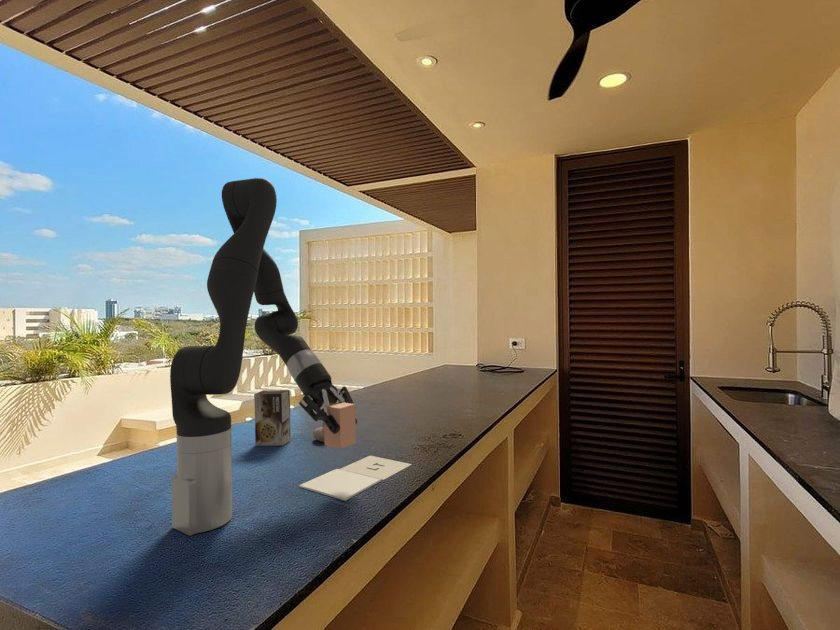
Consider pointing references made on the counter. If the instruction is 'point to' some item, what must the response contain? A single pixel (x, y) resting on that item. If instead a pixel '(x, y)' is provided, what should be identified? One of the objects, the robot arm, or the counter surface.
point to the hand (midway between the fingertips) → (346, 428)
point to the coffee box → (272, 417)
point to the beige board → (340, 484)
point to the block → (341, 426)
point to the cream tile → (376, 467)
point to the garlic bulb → (319, 433)
